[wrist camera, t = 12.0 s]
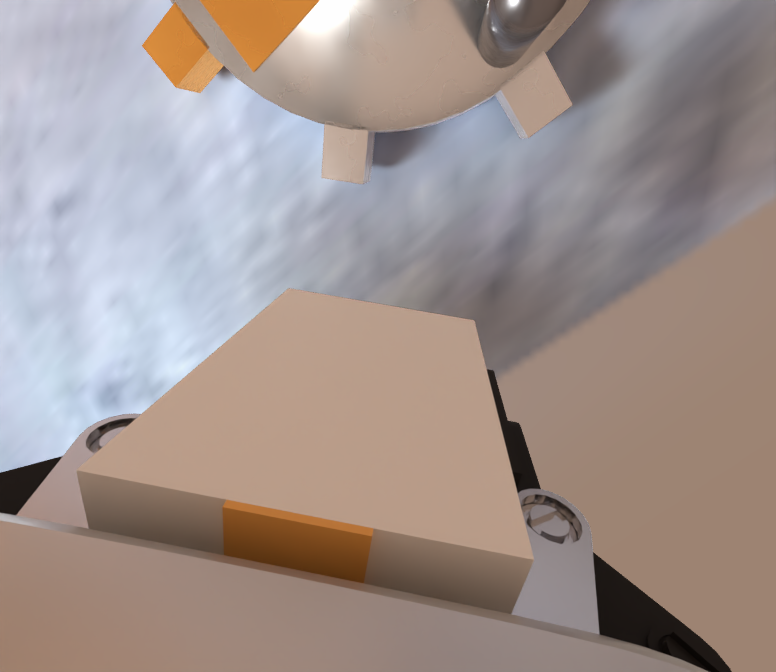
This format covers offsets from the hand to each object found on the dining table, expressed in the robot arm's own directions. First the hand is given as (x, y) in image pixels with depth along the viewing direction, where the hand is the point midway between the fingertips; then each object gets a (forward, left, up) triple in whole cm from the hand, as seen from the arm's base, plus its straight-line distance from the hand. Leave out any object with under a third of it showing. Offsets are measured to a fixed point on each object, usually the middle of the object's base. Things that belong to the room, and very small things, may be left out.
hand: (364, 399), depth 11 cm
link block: (0, 0, -1) cm, 1 cm away
